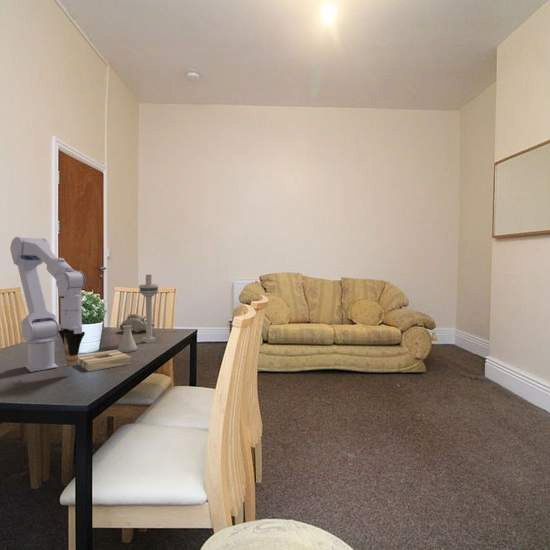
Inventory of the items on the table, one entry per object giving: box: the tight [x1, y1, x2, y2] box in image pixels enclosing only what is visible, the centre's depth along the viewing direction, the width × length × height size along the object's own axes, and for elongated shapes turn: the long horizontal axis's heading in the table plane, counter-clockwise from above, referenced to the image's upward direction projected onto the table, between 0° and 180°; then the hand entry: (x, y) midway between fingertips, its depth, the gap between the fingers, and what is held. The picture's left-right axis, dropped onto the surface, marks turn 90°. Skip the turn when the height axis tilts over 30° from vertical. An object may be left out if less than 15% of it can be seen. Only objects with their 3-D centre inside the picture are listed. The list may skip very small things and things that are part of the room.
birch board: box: [77, 349, 132, 372], centre depth 132 cm, size 14×14×2 cm
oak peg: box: [63, 336, 79, 367], centre depth 118 cm, size 4×4×9 cm
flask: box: [117, 325, 138, 353], centre depth 151 cm, size 7×7×10 cm
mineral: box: [118, 313, 156, 333], centre depth 194 cm, size 12×17×10 cm
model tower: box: [138, 274, 160, 344], centre depth 169 cm, size 8×8×30 cm
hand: (71, 353), depth 118 cm, fingers closed on oak peg, 4 cm apart
